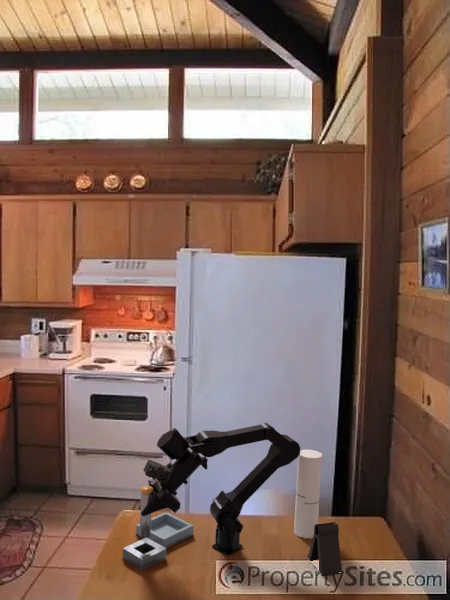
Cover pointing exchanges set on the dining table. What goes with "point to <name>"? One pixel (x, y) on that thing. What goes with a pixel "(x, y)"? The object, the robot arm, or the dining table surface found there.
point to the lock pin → (144, 520)
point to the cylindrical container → (307, 493)
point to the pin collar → (141, 560)
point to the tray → (168, 530)
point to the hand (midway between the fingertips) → (140, 512)
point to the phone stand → (326, 548)
